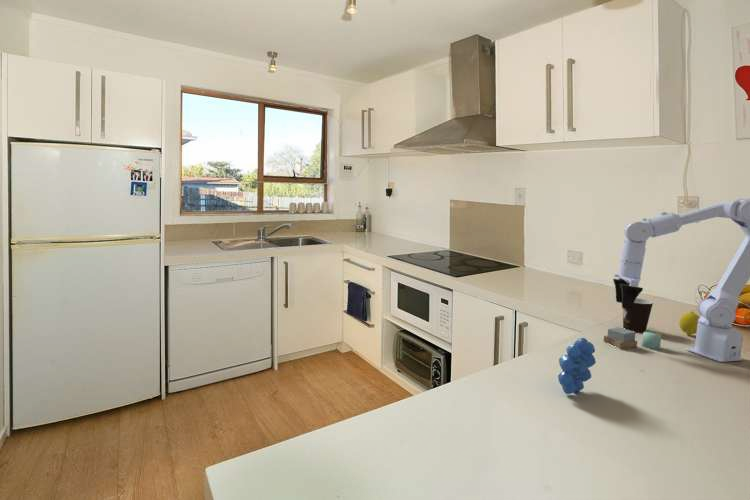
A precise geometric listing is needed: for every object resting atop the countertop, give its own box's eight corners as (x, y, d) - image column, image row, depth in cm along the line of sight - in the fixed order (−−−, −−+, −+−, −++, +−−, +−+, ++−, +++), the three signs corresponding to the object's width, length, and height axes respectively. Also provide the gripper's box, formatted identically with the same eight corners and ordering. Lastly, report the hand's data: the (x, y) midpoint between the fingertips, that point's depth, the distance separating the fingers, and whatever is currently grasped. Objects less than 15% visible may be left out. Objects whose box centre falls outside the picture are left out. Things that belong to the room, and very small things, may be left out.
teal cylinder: (663, 349, 116) (665, 336, 116) (651, 350, 115) (652, 336, 115) (650, 344, 121) (651, 331, 120) (638, 345, 120) (639, 332, 119)
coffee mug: (649, 335, 129) (652, 305, 128) (618, 329, 134) (620, 300, 133) (650, 327, 138) (654, 299, 137) (621, 322, 143) (624, 295, 142)
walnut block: (636, 349, 117) (637, 341, 117) (619, 350, 116) (620, 342, 115) (619, 342, 123) (620, 334, 122) (603, 343, 121) (604, 335, 121)
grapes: (571, 378, 94) (575, 329, 93) (600, 390, 89) (605, 337, 87) (541, 390, 88) (545, 337, 87) (570, 403, 82) (575, 347, 81)
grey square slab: (634, 340, 117) (635, 332, 117) (623, 342, 115) (624, 333, 115) (618, 335, 122) (619, 327, 122) (607, 337, 120) (608, 328, 120)
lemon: (691, 333, 133) (694, 309, 132) (703, 338, 127) (706, 314, 126) (674, 332, 133) (676, 308, 132) (685, 337, 128) (688, 313, 127)
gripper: (611, 256, 128) (603, 297, 130) (622, 263, 114) (613, 308, 116) (636, 260, 126) (628, 301, 128) (650, 266, 112) (641, 313, 114)
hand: (623, 305), depth 122 cm, fingers open, 7 cm apart
